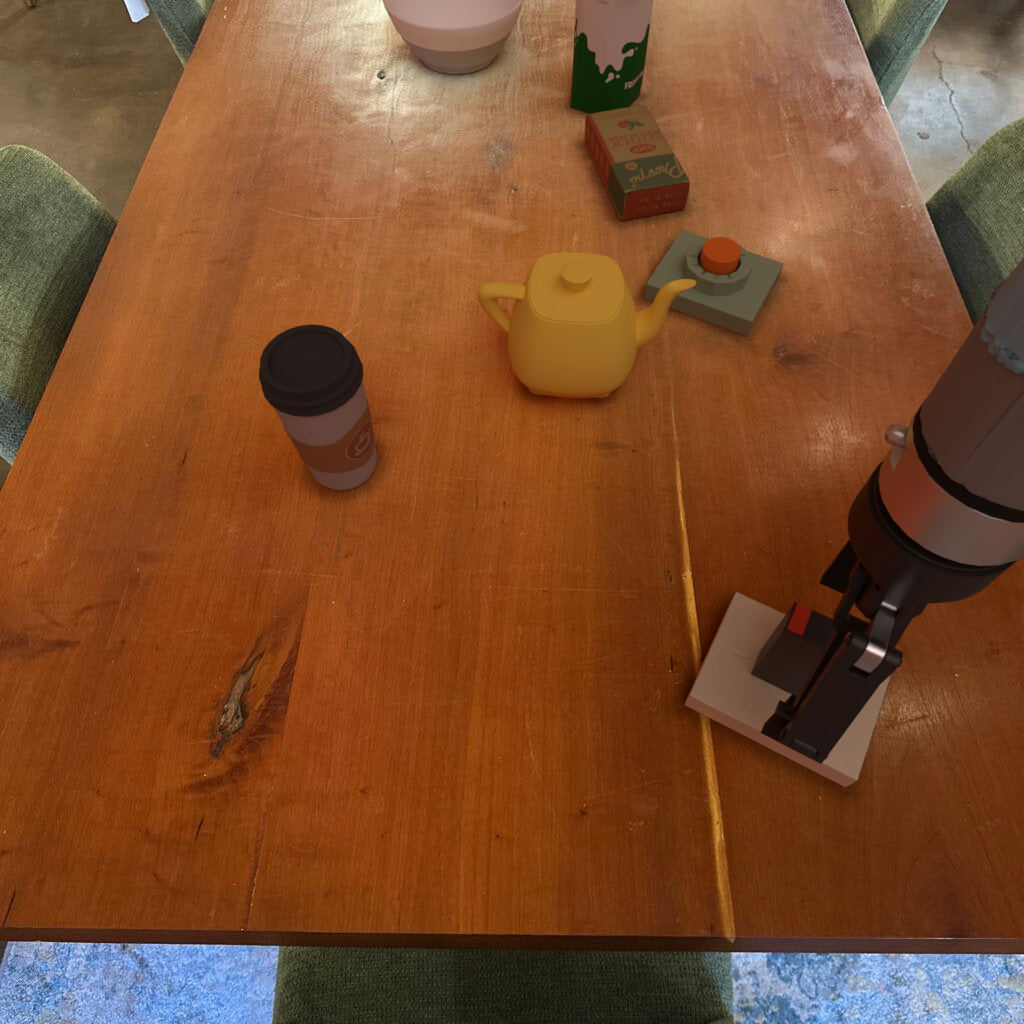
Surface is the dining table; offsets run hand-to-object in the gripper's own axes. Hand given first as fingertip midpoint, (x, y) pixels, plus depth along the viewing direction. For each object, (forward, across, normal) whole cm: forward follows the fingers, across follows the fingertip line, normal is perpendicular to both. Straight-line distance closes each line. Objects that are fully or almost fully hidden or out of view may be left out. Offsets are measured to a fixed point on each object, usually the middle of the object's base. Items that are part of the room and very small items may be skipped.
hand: (811, 658), depth 55 cm
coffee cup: (+7, -1, -44) cm, 45 cm away
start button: (+3, -40, -22) cm, 46 cm away
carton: (+7, -54, -38) cm, 66 cm away
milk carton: (+7, -67, -48) cm, 83 cm away
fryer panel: (+7, 0, 0) cm, 7 cm away
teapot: (+7, -23, -30) cm, 38 cm away
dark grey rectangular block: (+5, 0, 0) cm, 5 cm away
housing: (+7, -40, -22) cm, 46 cm away
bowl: (+7, -68, -72) cm, 99 cm away
